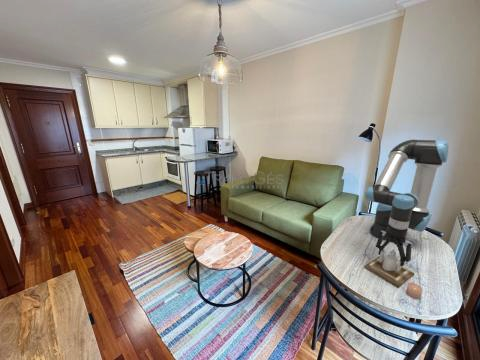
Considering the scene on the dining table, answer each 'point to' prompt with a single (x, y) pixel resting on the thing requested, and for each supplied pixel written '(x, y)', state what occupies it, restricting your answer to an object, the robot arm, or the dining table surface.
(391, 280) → the board
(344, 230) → the dining table surface
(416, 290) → the egg
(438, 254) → the dining table surface
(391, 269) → the eye dropper bottle
